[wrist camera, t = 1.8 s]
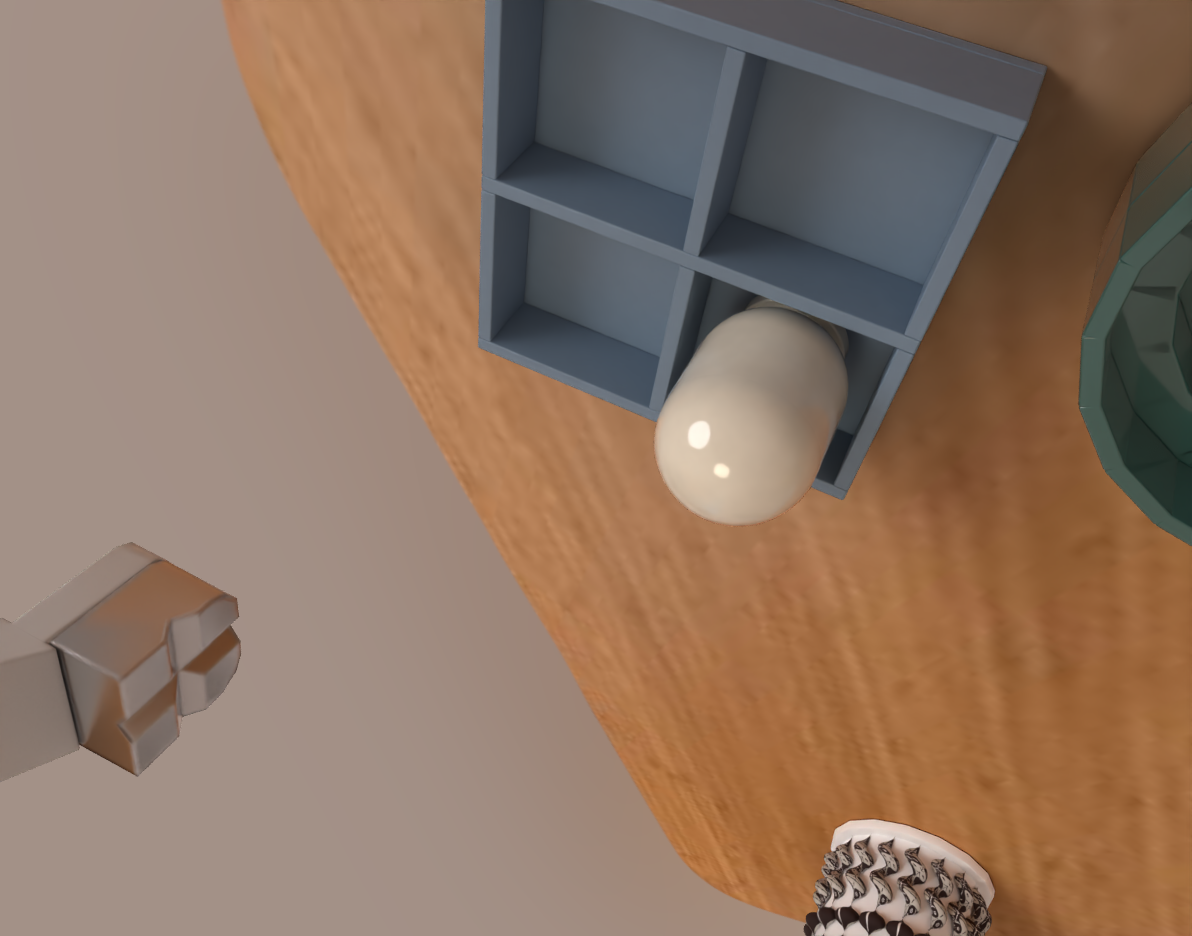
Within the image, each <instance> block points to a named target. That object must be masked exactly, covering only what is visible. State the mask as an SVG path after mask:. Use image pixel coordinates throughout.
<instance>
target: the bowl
mask: <svg viewBox="0 0 1192 936" xmlns="http://www.w3.org/2000/svg"><path fill="white" fill-rule="evenodd" d="M1078 405H1079V409H1080V412H1081V414H1082V417H1083V419H1084V422H1085V424H1086V427H1087V429H1088V432H1089V434H1090V437H1091V439H1092V442H1093V444H1094V447H1095V449H1096V452H1097V454H1098V456H1099V459H1100V461H1101V464H1102V466H1103V469H1104V470H1105V472H1106V473H1107V474H1108V475H1109V476H1110V477H1111V479H1112V480H1113V481H1114V482H1115V483H1116V484H1117V485H1118V486H1119V487H1120V488H1121V489H1122V490H1123V491H1124V492H1125V493H1126V495H1127V496H1128V497H1129V498H1130V499H1131V500H1132V501H1133V502H1134V503H1135V504H1136V505H1137V506H1138V507H1139V508H1140V509H1141V511H1142V512H1143V513H1144V514H1145V515H1146V516H1147V517H1148V518H1149V519H1150V520H1151V521H1152V522H1153V523H1154V524H1156V525H1157V526H1158V527H1160V528H1161V529H1163V530H1165V531H1166V532H1168V533H1170V534H1172V535H1173V536H1175V537H1177V538H1178V539H1180V540H1182V541H1183V542H1185V543H1187V544H1188V545H1190V546H1192V103H1191V104H1190V105H1189V106H1188V107H1187V108H1186V109H1185V110H1184V112H1183V113H1182V114H1181V115H1180V116H1179V117H1178V118H1177V119H1176V120H1175V121H1174V122H1173V123H1172V125H1171V126H1170V127H1169V128H1168V129H1167V130H1166V131H1165V132H1164V133H1163V134H1162V135H1161V136H1160V138H1159V139H1158V140H1157V141H1156V142H1155V143H1154V144H1153V145H1152V146H1151V147H1150V148H1149V149H1148V151H1147V152H1146V153H1145V154H1144V155H1143V156H1142V157H1141V158H1140V159H1139V161H1138V163H1137V164H1136V165H1135V167H1134V169H1133V171H1132V173H1131V176H1130V178H1129V180H1128V182H1127V184H1126V186H1125V189H1124V191H1123V193H1122V195H1121V197H1120V199H1119V201H1118V204H1117V206H1116V208H1115V210H1114V212H1113V214H1112V217H1111V219H1110V221H1109V223H1108V225H1107V227H1106V229H1105V232H1104V234H1103V238H1102V243H1101V247H1100V252H1099V257H1098V262H1097V266H1096V271H1095V276H1094V281H1093V286H1092V289H1091V294H1090V299H1089V304H1088V308H1087V313H1086V318H1085V323H1084V327H1083V332H1082V337H1081V357H1080V379H1079V401H1078Z"/></svg>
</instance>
